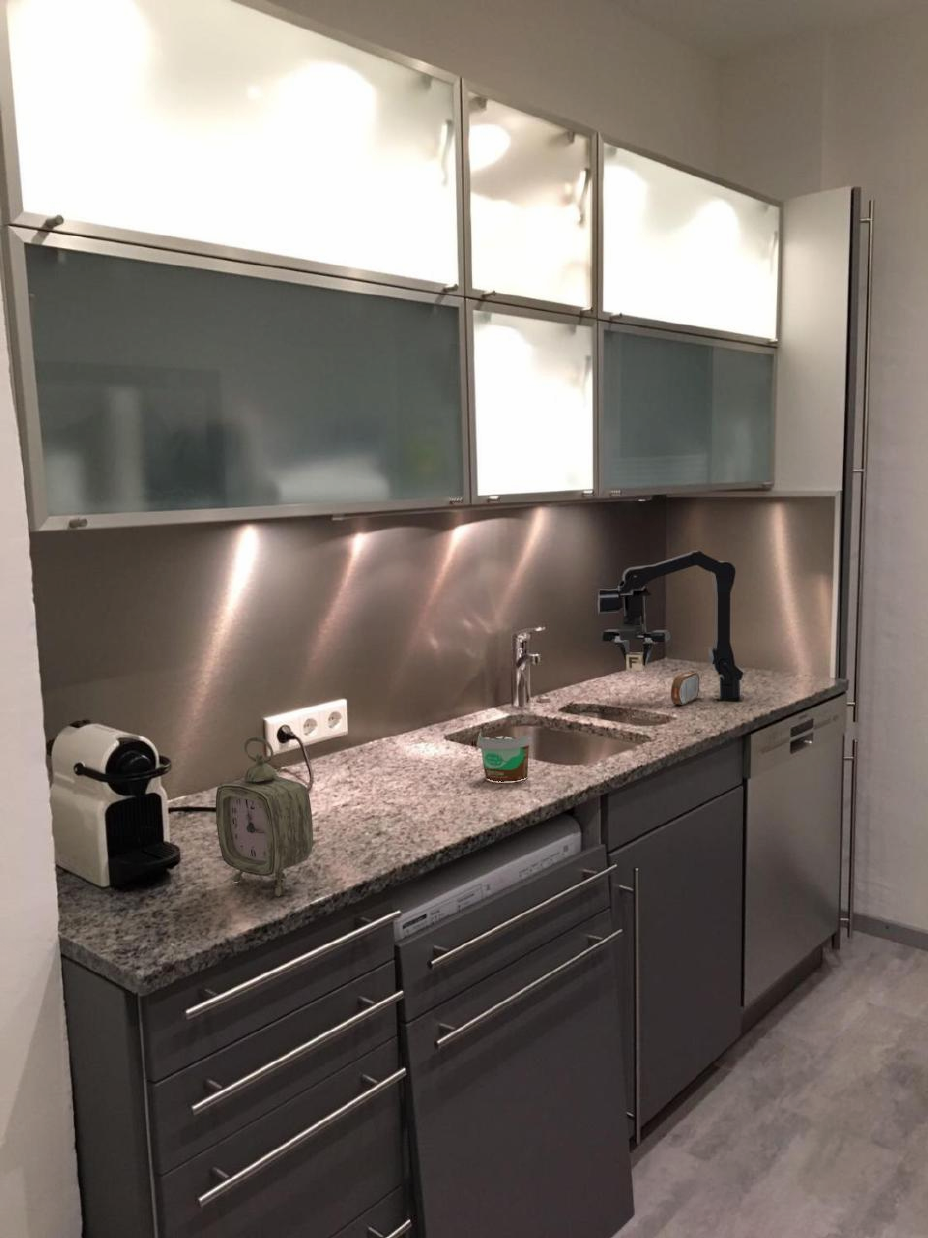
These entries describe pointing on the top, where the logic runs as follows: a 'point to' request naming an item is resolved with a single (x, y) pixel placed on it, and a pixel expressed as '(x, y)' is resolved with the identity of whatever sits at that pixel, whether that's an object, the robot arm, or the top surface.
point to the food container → (505, 757)
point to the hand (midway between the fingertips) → (636, 665)
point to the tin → (685, 688)
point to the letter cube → (635, 661)
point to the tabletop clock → (264, 821)
